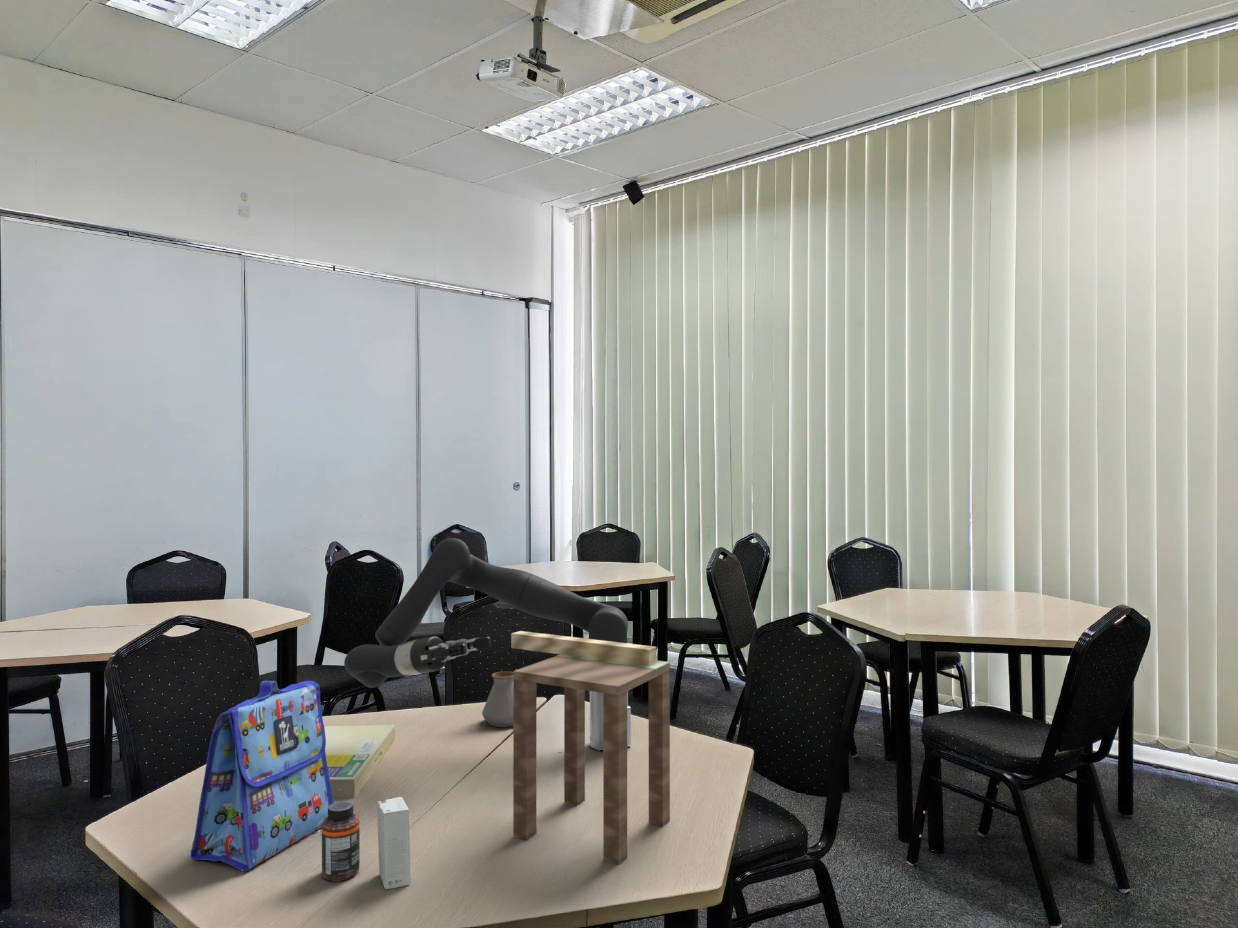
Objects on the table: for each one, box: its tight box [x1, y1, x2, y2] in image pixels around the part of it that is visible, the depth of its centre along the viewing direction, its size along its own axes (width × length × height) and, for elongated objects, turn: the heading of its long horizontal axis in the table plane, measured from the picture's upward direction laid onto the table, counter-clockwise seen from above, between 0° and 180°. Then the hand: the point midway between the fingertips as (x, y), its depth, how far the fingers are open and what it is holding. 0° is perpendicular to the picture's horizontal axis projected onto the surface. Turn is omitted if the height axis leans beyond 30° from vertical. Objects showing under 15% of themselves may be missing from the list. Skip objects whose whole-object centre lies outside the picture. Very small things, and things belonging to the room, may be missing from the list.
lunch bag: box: [190, 680, 334, 872], centre depth 145 cm, size 22×14×29 cm, turn 160°
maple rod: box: [510, 630, 657, 666], centre depth 160 cm, size 32×3×3 cm, turn 61°
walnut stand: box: [512, 654, 671, 865], centre depth 150 cm, size 22×20×30 cm
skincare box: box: [377, 796, 412, 890], centre depth 131 cm, size 6×4×12 cm
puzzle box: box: [324, 724, 396, 799], centre depth 181 cm, size 36×5×24 cm
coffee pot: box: [481, 671, 514, 728], centre depth 214 cm, size 21×12×15 cm, turn 99°
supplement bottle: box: [321, 800, 361, 882], centre depth 133 cm, size 6×6×11 cm
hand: (477, 645), depth 172 cm, fingers open, 8 cm apart
